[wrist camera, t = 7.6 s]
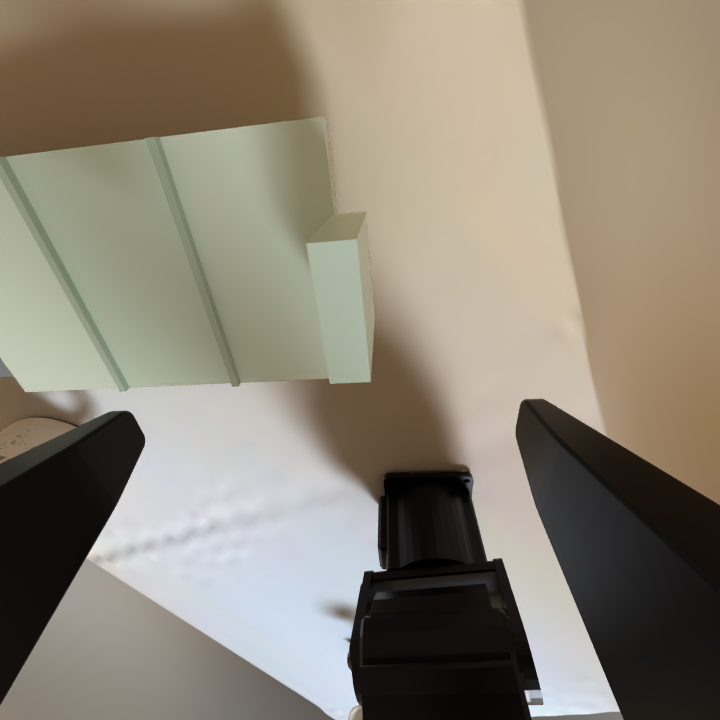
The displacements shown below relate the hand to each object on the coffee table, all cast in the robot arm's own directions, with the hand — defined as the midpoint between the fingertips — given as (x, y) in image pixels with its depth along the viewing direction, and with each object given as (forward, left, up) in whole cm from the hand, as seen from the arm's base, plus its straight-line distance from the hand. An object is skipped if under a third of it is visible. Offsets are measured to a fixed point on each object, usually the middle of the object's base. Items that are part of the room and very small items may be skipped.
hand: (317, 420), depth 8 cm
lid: (+8, -2, -7) cm, 11 cm away
